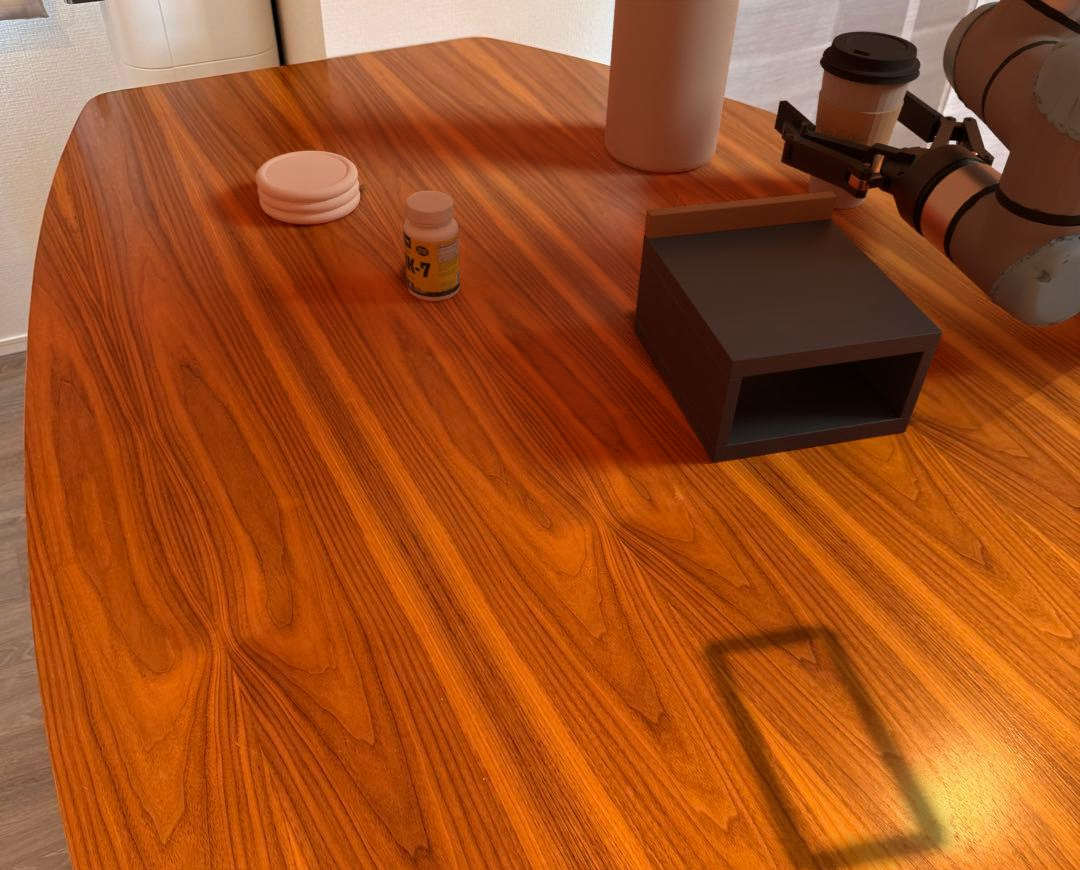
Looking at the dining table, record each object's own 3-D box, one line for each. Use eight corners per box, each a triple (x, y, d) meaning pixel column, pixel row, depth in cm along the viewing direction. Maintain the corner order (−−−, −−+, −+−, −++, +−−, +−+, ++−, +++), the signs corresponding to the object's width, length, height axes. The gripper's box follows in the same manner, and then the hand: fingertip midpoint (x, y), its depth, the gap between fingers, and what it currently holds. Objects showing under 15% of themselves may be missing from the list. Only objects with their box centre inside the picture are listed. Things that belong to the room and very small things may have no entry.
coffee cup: (789, 209, 100) (822, 56, 90) (794, 171, 107) (826, 24, 96) (882, 222, 99) (928, 67, 88) (882, 182, 106) (924, 34, 95)
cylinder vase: (629, 120, 116) (651, -131, 98) (729, 142, 112) (772, -114, 94) (586, 160, 108) (602, -106, 90) (692, 185, 104) (731, -87, 86)
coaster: (245, 220, 96) (238, 186, 93) (282, 177, 103) (276, 144, 100) (342, 232, 95) (338, 197, 92) (373, 187, 102) (369, 153, 99)
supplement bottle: (396, 287, 88) (389, 198, 82) (436, 270, 90) (432, 182, 84) (431, 309, 85) (425, 219, 79) (471, 290, 88) (469, 201, 82)
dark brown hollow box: (905, 432, 75) (952, 306, 67) (712, 463, 72) (737, 335, 64) (802, 308, 87) (831, 190, 79) (633, 330, 84) (646, 209, 76)
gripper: (817, 258, 85) (722, 156, 99) (1061, 228, 90) (937, 135, 104) (838, 174, 80) (734, 79, 94) (1096, 148, 85) (960, 61, 99)
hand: (841, 108), depth 99 cm, fingers open, 13 cm apart
